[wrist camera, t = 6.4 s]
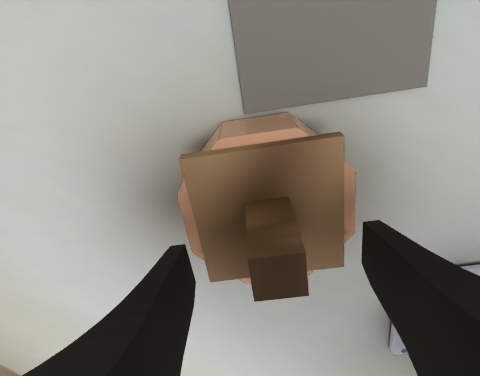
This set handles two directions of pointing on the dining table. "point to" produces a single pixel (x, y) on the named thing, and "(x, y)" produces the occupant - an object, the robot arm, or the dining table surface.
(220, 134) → the octagonal copper pot
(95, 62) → the dining table surface
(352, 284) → the dining table surface
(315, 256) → the lid
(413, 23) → the mat
